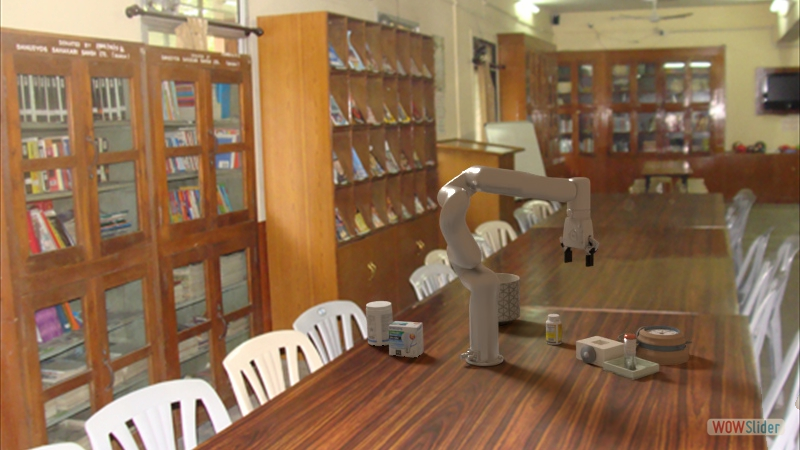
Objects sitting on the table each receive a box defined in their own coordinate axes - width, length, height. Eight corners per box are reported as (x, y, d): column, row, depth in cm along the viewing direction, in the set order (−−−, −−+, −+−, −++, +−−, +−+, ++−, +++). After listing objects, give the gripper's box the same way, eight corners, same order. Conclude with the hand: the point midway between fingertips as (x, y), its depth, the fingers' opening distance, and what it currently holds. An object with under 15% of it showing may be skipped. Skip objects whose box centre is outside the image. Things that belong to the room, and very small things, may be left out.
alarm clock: (680, 340, 246) (609, 330, 260) (680, 368, 247) (609, 357, 261) (695, 327, 260) (627, 318, 273) (695, 354, 261) (627, 344, 274)
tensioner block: (599, 368, 249) (600, 350, 248) (572, 359, 259) (572, 342, 258) (624, 361, 256) (625, 343, 255) (597, 352, 266) (597, 335, 265)
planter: (497, 332, 294) (497, 285, 292) (461, 323, 309) (460, 278, 306) (530, 322, 307) (529, 277, 304) (494, 314, 321) (493, 271, 318)
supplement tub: (393, 338, 290) (392, 300, 288) (394, 346, 281) (392, 306, 279) (367, 339, 290) (365, 301, 288) (367, 347, 281) (365, 307, 279)
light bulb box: (388, 355, 270) (387, 325, 269) (395, 350, 276) (394, 320, 275) (417, 358, 266) (417, 327, 265) (424, 352, 273) (423, 322, 271)
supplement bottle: (559, 340, 281) (559, 312, 280) (563, 344, 276) (563, 316, 274) (544, 341, 281) (543, 313, 279) (548, 345, 275) (548, 317, 274)
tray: (633, 379, 238) (633, 372, 238) (603, 370, 248) (603, 362, 247) (658, 371, 244) (659, 364, 244) (628, 362, 254) (628, 355, 254)
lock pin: (631, 371, 244) (630, 337, 242) (621, 368, 247) (621, 334, 245) (638, 368, 246) (638, 335, 244) (629, 366, 249) (629, 332, 247)
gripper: (552, 213, 267) (552, 262, 269) (590, 217, 253) (590, 269, 255) (567, 211, 271) (568, 259, 273) (606, 215, 257) (606, 266, 259)
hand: (578, 264), depth 264 cm, fingers open, 9 cm apart
